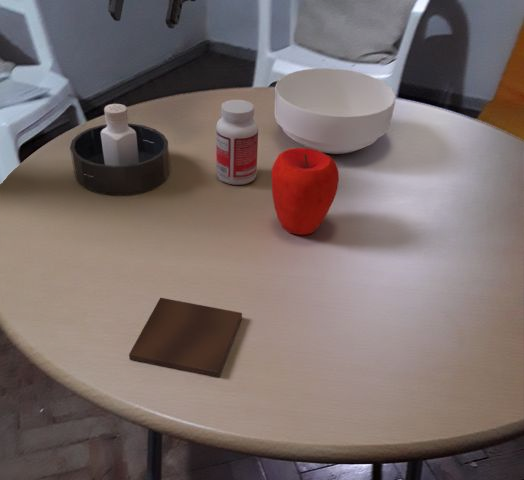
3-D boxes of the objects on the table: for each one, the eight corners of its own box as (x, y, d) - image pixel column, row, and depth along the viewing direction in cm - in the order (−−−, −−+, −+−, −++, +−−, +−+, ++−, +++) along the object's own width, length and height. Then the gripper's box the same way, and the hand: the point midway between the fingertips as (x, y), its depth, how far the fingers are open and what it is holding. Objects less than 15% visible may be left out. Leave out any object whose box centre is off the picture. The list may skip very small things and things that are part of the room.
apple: (333, 214, 91) (344, 143, 83) (328, 248, 84) (338, 175, 77) (273, 206, 91) (278, 135, 84) (263, 239, 85) (267, 166, 78)
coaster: (129, 359, 68) (128, 354, 67) (160, 302, 75) (160, 297, 74) (218, 377, 66) (218, 372, 66) (242, 317, 73) (242, 312, 73)
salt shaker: (120, 178, 94) (113, 116, 88) (103, 169, 96) (95, 107, 89) (141, 169, 97) (135, 108, 90) (124, 160, 98) (117, 99, 92)
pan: (58, 186, 92) (53, 158, 89) (98, 144, 102) (94, 117, 99) (150, 202, 91) (148, 173, 88) (181, 157, 101) (180, 130, 98)
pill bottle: (260, 170, 99) (264, 100, 91) (250, 189, 95) (253, 117, 87) (222, 164, 100) (223, 94, 92) (211, 182, 96) (210, 110, 88)
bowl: (252, 125, 110) (254, 76, 105) (346, 109, 117) (353, 62, 112) (308, 177, 98) (313, 125, 92) (409, 155, 105) (420, 105, 99)
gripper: (107, -113, 89) (85, 2, 89) (203, -103, 87) (181, 14, 87) (126, -78, 96) (106, 28, 97) (216, -68, 94) (195, 40, 95)
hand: (142, 22), depth 92 cm, fingers open, 8 cm apart
